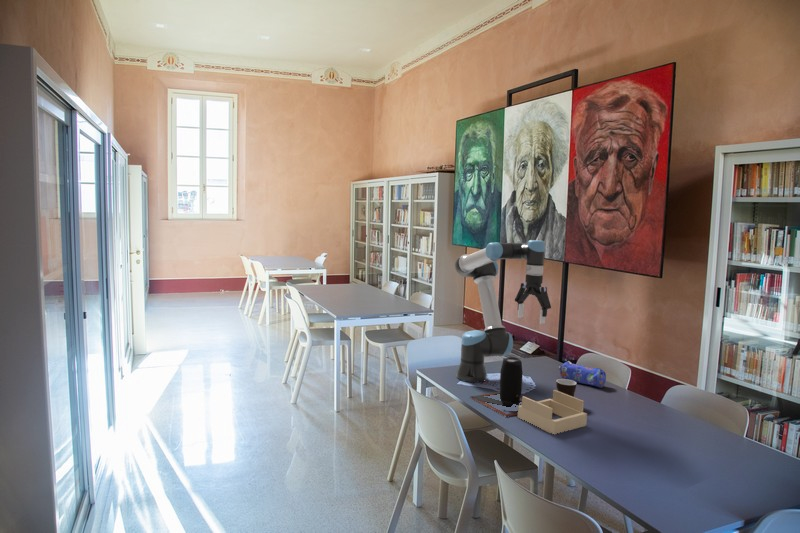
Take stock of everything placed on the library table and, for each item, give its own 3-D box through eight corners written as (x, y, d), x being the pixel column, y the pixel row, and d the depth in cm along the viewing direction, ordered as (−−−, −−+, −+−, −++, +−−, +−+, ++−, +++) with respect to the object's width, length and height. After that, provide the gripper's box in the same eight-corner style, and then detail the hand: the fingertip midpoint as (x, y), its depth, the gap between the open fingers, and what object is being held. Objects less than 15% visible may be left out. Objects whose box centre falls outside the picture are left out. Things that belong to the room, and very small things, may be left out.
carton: (517, 417, 221) (518, 395, 220) (549, 409, 232) (550, 388, 231) (553, 434, 206) (555, 410, 205) (586, 425, 216) (588, 402, 215)
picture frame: (469, 400, 243) (505, 420, 221) (470, 396, 243) (506, 415, 221) (504, 394, 253) (542, 413, 231) (505, 390, 252) (543, 408, 231)
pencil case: (557, 379, 276) (558, 361, 275) (564, 376, 283) (566, 358, 282) (599, 390, 262) (601, 371, 261) (606, 386, 268) (608, 367, 267)
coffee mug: (570, 409, 234) (572, 386, 233) (551, 404, 239) (553, 382, 238) (580, 402, 243) (581, 380, 242) (561, 397, 248) (562, 376, 247)
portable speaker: (523, 406, 231) (526, 361, 230) (502, 406, 230) (504, 361, 229) (517, 400, 240) (519, 356, 238) (496, 400, 239) (498, 356, 237)
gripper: (509, 271, 254) (506, 315, 256) (549, 278, 233) (546, 326, 235) (520, 270, 258) (517, 314, 260) (561, 277, 237) (558, 325, 239)
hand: (531, 320), depth 248 cm, fingers open, 13 cm apart
